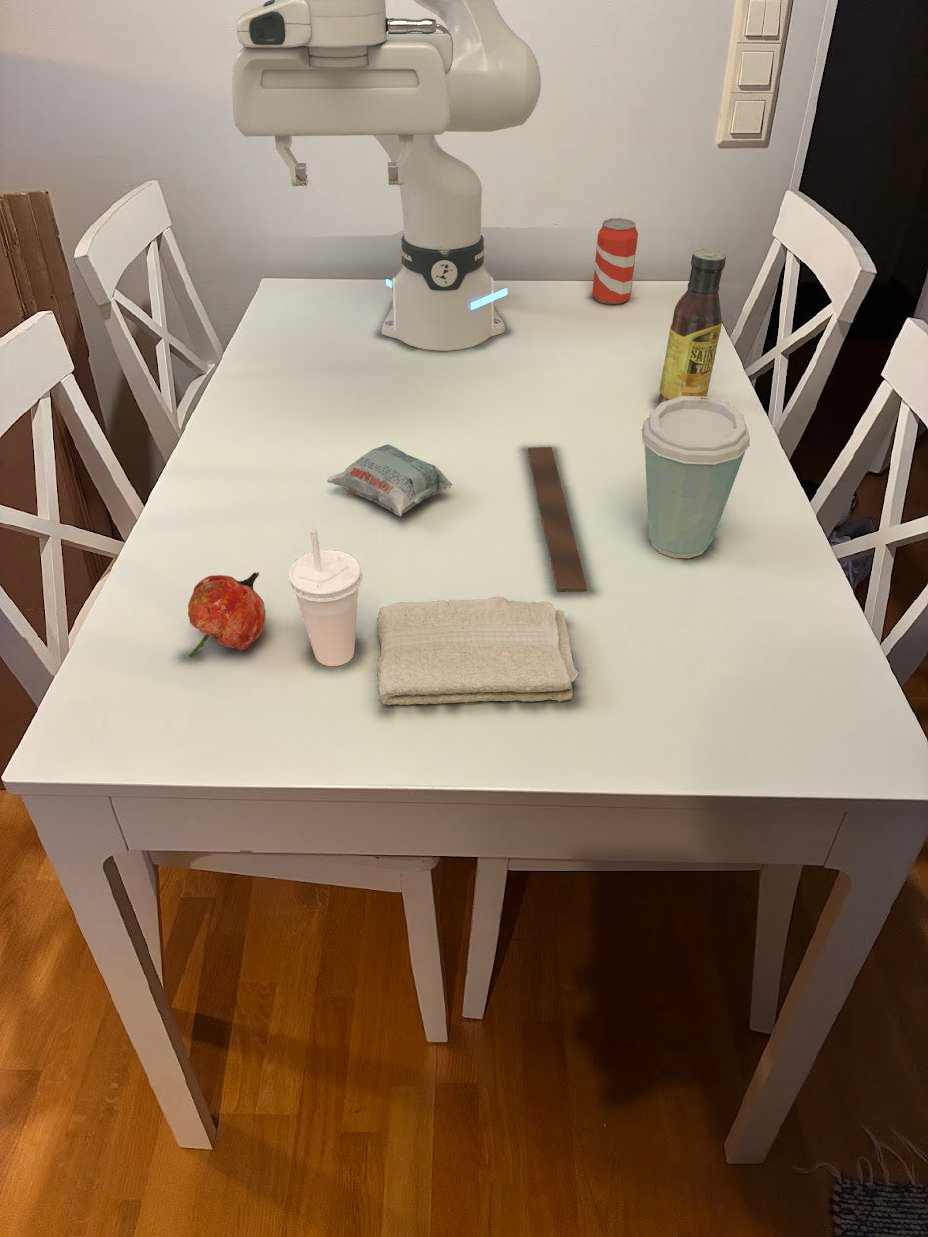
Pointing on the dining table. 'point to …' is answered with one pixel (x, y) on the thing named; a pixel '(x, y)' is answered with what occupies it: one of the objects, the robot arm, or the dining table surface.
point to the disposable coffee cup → (690, 470)
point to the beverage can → (615, 261)
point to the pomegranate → (227, 611)
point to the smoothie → (328, 601)
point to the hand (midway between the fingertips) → (348, 184)
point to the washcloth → (473, 652)
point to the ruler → (556, 521)
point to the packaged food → (392, 479)
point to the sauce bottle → (694, 330)
